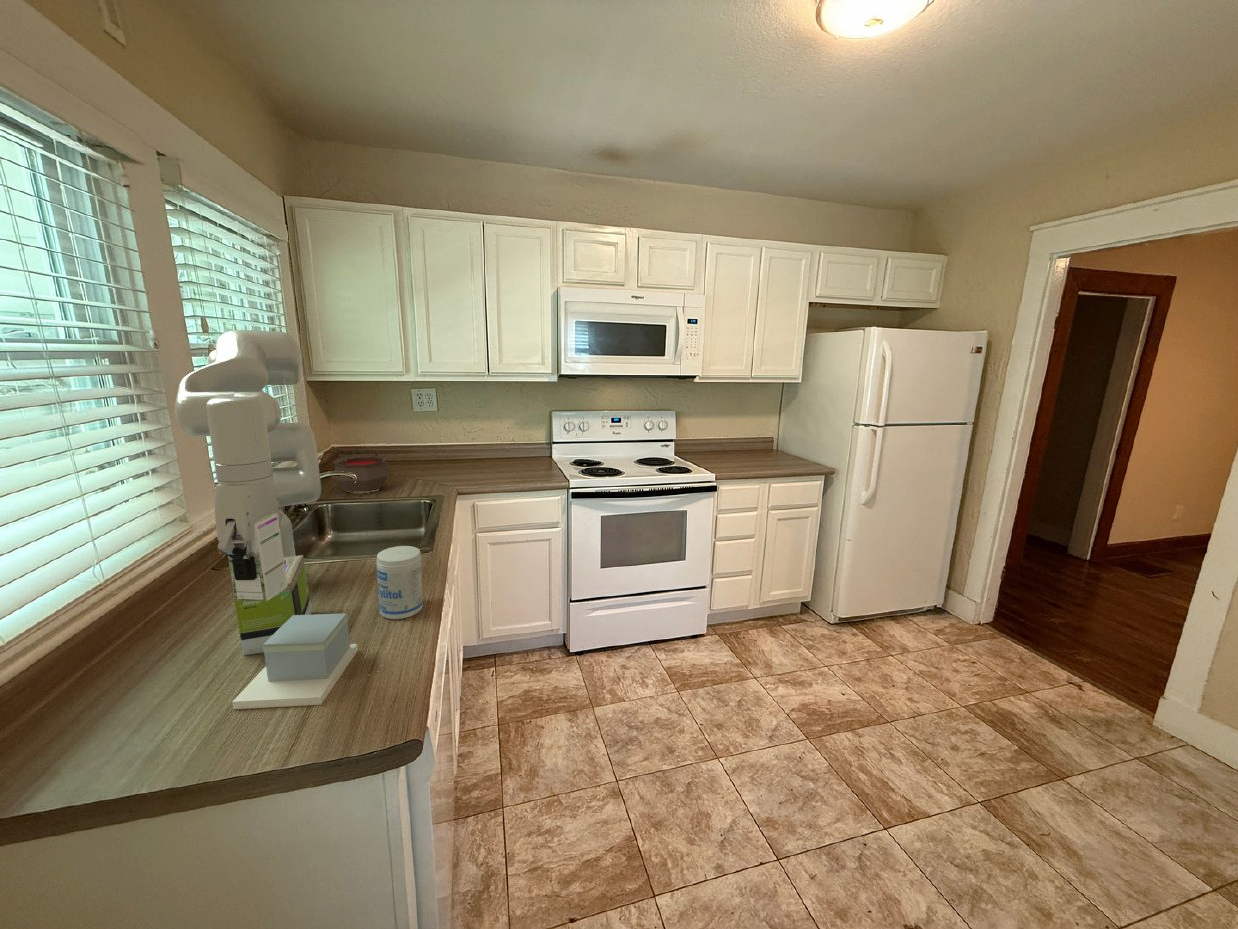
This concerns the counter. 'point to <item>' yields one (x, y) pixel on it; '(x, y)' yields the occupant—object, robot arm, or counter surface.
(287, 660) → the stand
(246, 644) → the tea box
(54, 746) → the counter surface
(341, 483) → the dark round pot
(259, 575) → the syrup box
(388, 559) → the supplement tub
